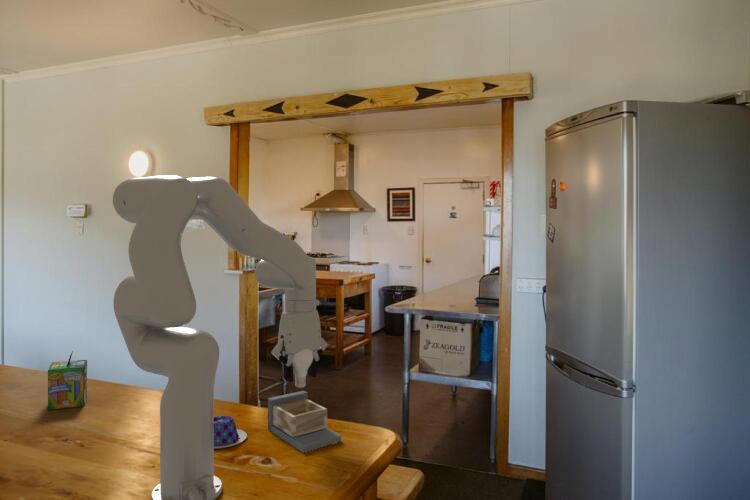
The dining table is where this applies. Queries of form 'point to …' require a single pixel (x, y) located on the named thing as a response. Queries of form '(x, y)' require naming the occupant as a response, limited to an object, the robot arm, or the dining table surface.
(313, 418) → the box
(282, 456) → the dining table surface
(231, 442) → the pudding
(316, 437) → the base
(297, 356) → the lightbulb
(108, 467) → the dining table surface
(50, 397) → the chalk box
